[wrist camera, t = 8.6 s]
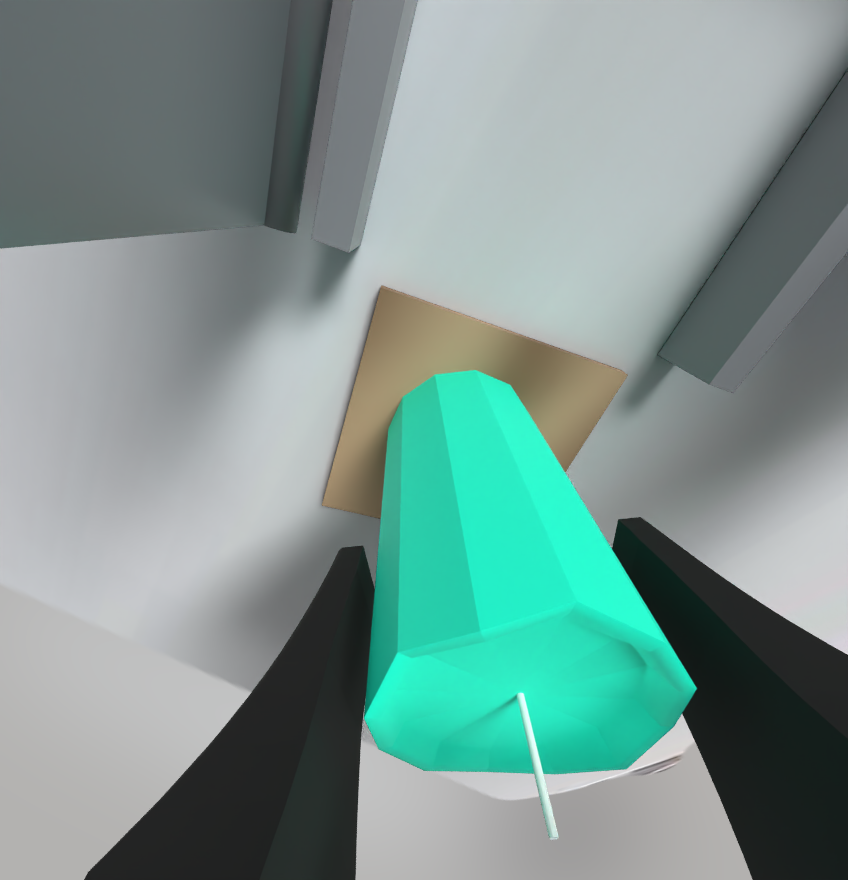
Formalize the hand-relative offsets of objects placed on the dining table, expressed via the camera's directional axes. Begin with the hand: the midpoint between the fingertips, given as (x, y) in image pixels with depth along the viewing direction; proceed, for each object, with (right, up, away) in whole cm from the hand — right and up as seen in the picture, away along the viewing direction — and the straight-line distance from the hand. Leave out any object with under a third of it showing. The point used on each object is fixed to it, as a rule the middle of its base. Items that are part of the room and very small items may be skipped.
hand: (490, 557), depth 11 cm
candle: (0, +4, +5) cm, 6 cm away
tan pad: (0, +3, +6) cm, 7 cm away
